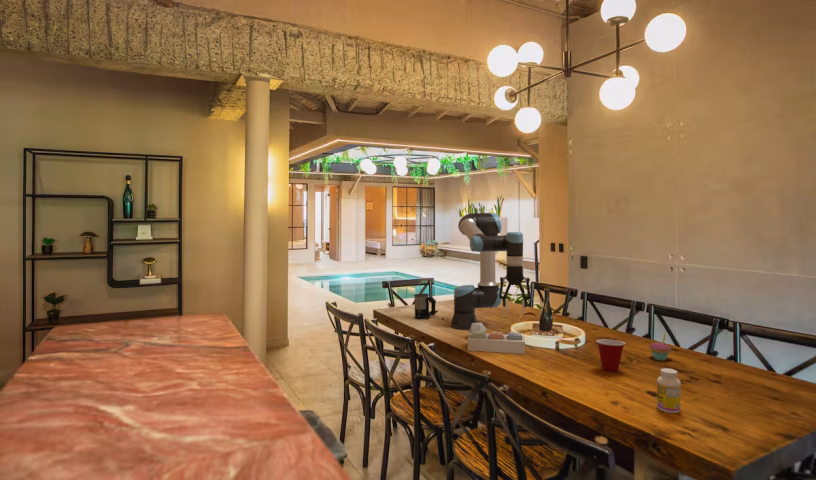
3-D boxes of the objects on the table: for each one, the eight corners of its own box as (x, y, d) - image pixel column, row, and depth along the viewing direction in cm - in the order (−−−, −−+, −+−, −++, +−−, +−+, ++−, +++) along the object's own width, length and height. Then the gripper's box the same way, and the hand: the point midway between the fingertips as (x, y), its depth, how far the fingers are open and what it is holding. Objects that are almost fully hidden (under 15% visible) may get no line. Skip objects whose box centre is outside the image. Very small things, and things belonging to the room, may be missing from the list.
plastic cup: (623, 367, 189) (623, 338, 188) (626, 375, 179) (626, 345, 178) (595, 364, 193) (595, 336, 192) (596, 372, 182) (596, 343, 182)
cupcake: (670, 357, 201) (670, 330, 200) (672, 362, 193) (672, 335, 193) (648, 354, 205) (648, 328, 204) (649, 360, 197) (649, 333, 196)
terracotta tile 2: (490, 338, 220) (490, 330, 220) (502, 339, 219) (502, 331, 219) (489, 341, 215) (489, 334, 214) (502, 342, 213) (502, 334, 213)
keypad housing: (470, 343, 226) (469, 332, 225) (524, 346, 220) (524, 335, 220) (467, 351, 214) (467, 339, 214) (525, 353, 208) (525, 342, 208)
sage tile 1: (472, 337, 222) (472, 330, 222) (485, 338, 221) (485, 330, 221) (471, 341, 216) (471, 333, 216) (484, 341, 215) (484, 333, 215)
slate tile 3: (508, 339, 219) (508, 331, 218) (521, 339, 217) (521, 332, 217) (508, 342, 213) (508, 334, 213) (521, 343, 211) (521, 335, 211)
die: (484, 342, 231) (491, 325, 234) (469, 334, 231) (476, 317, 234) (478, 343, 239) (485, 327, 242) (464, 335, 239) (471, 319, 242)
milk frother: (413, 319, 281) (412, 295, 280) (416, 314, 296) (416, 291, 295) (436, 320, 278) (435, 296, 278) (438, 314, 294) (438, 291, 293)
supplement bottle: (654, 404, 152) (655, 366, 151) (677, 406, 150) (677, 368, 149) (659, 412, 145) (659, 373, 145) (682, 415, 143) (683, 374, 143)
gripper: (492, 265, 212) (492, 314, 213) (537, 266, 207) (537, 316, 208) (493, 264, 219) (493, 311, 220) (536, 264, 215) (536, 312, 216)
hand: (514, 313), depth 214 cm, fingers open, 7 cm apart
